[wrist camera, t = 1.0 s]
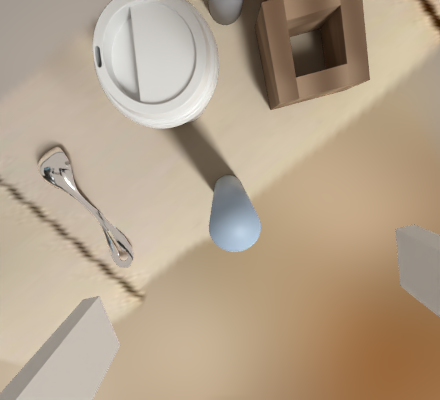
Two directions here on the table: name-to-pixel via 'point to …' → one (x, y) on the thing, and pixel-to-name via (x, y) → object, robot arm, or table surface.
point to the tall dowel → (233, 216)
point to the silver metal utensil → (81, 200)
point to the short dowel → (225, 10)
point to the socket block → (331, 39)
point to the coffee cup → (155, 60)
